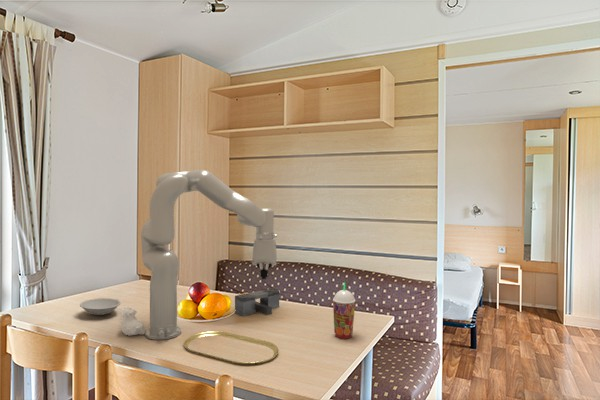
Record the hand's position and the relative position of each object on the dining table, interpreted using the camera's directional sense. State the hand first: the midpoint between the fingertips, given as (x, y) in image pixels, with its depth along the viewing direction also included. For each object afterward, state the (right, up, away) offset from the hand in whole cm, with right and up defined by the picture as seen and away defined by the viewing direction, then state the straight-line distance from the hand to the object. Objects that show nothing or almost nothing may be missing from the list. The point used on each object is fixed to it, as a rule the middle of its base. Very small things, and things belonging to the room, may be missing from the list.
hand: (264, 278), depth 178 cm
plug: (-4, -15, +5) cm, 16 cm away
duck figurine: (-47, -16, -27) cm, 56 cm away
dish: (-69, -15, -6) cm, 70 cm away
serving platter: (-8, -17, -39) cm, 43 cm away
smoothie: (+32, -17, -26) cm, 44 cm away
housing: (-3, -15, +4) cm, 16 cm away
